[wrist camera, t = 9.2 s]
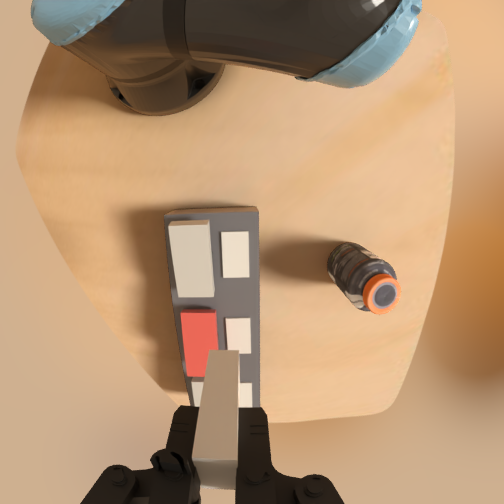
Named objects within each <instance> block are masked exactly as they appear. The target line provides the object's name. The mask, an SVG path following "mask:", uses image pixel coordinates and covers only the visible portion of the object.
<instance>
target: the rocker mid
mask: <svg viewBox="0 0 504 504" xmlns="http://www.w3.org/2000/svg"><path fill="white" fill-rule="evenodd" d="M181 324H182V334H183V344H184V353H185V362H186V370H187V376H193V377H205V372H206V366H207V360H208V354H209V350H219V349H218V333H217V316H216V309H183V310H182V312H181Z"/></svg>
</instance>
